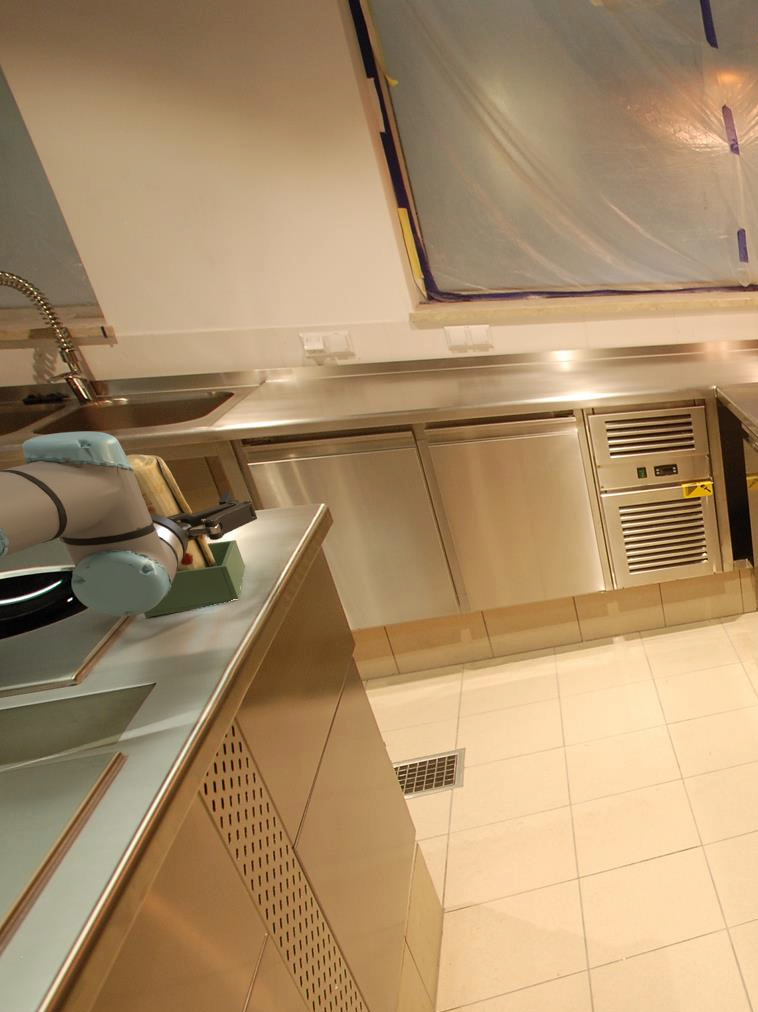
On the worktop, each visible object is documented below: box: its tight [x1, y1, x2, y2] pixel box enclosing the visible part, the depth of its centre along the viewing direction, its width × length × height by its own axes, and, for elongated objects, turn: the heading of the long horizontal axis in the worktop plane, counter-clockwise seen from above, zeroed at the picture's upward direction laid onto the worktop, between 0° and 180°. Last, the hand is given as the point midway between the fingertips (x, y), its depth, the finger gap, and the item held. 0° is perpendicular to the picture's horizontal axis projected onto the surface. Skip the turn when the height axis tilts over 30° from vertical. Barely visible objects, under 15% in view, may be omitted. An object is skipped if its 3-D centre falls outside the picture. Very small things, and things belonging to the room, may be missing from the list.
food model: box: [126, 454, 217, 572], centre depth 116 cm, size 10×7×20 cm
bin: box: [143, 540, 246, 618], centre depth 121 cm, size 10×13×6 cm
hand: (169, 506), depth 119 cm, fingers open, 13 cm apart
